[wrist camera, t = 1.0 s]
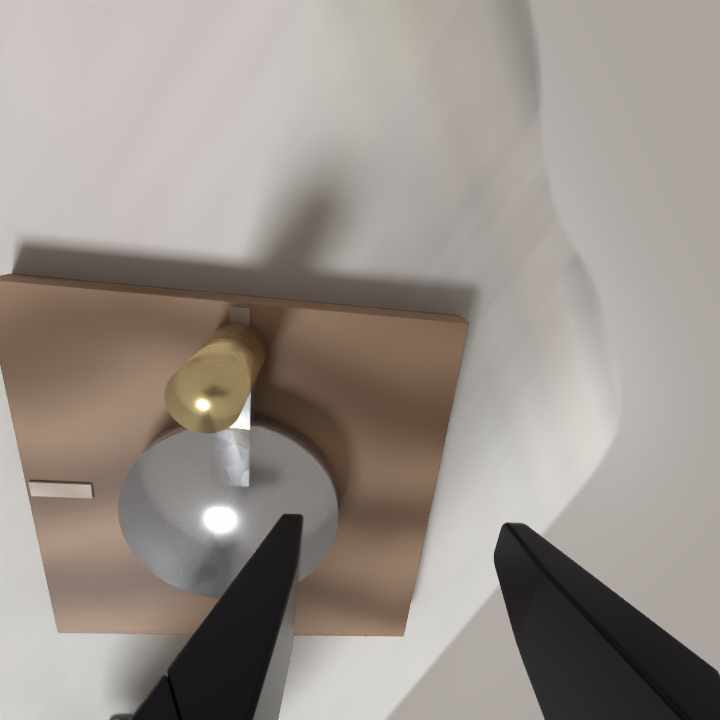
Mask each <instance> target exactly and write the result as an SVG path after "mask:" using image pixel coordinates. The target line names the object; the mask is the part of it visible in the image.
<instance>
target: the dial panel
mask: <svg viewBox="0 0 720 720" xmlns="http://www.w3.org/2000/svg"><path fill="white" fill-rule="evenodd" d="M234 322H239V323H244V324H248V325H250V326H252V327H254V328H255V329H256V330H257V331H259V332H260V334H261V335H262V336H263V338H264V340H265V342H266V346H267V356H266V359H265V361H264V364H263V366H262V368H261V370H260V372H259V375H258V377H257V379H256V399H255V413H257V414H261V415H265V416H268V417H271V418H274V419H277V420H279V421H282V422H284V423H286V424H288V425H290V426H292V427H293V428H295V429H296V430H298V431H299V432H301V433H302V434H304V435H305V436H306V437H307V438H309V439H310V440H311V441H312V442H313V443H314V444H315V445H316V446H317V447H318V448H319V449H320V451H321V452H322V453H323V455H324V456H325V458H326V459H327V461H328V462H329V464H330V466H331V469H332V471H333V473H334V477H335V480H336V484H337V492H338V527H337V532H336V537H335V539H334V542H333V545H332V547H331V549H330V551H329V552H328V554H327V556H326V557H325V559H324V560H323V561H322V563H321V564H320V565H319V566H318V567H317V568H316V569H315V570H314V571H313V572H312V573H311V574H309V575H308V576H307V577H305V578H304V579H303V580H301V581H300V582H298V593H297V605H296V616H295V628H294V635H323V636H404V632H405V627H406V622H407V618H408V613H409V608H410V603H411V599H412V594H413V589H414V584H415V580H416V575H417V570H418V565H419V560H420V556H421V551H422V546H423V541H424V537H425V532H426V527H427V522H428V518H429V513H430V508H431V503H432V499H433V494H434V489H435V484H436V479H437V475H438V470H439V465H440V460H441V456H442V451H443V446H444V441H445V437H446V432H447V427H448V422H449V418H450V413H451V408H452V403H453V398H454V394H455V389H456V384H457V379H458V375H459V370H460V365H461V360H462V356H463V351H464V346H465V341H466V337H467V332H468V327H469V323H467V322H466V321H465V320H464V319H462V318H461V317H460V316H456V315H446V314H435V313H424V312H414V311H403V310H392V309H381V308H371V307H360V306H349V305H339V304H328V303H317V302H307V301H296V300H285V299H275V298H264V297H253V296H243V295H232V294H221V293H211V292H200V291H189V290H179V289H168V288H157V287H147V286H136V285H125V284H115V283H104V282H93V281H82V280H72V279H61V278H50V277H40V276H29V275H18V274H7V275H2V276H0V365H1V370H2V375H3V379H4V384H5V389H6V393H7V398H8V403H9V407H10V412H11V417H12V421H13V426H14V431H15V435H16V440H17V445H18V449H19V454H20V459H21V463H22V468H23V473H24V477H25V482H26V487H27V491H28V496H29V501H30V505H31V510H32V514H33V519H34V524H35V528H36V533H37V538H38V542H39V547H40V552H41V556H42V561H43V566H44V570H45V575H46V580H47V584H48V589H49V594H50V598H51V603H52V608H53V612H54V617H55V622H56V626H57V631H58V633H114V634H194V633H195V631H196V630H197V629H198V627H199V626H200V625H201V623H202V622H203V621H204V619H205V618H206V617H207V615H208V614H209V612H210V611H211V610H212V608H213V607H214V606H215V604H216V603H217V602H218V600H219V599H218V598H211V597H205V596H201V595H197V594H193V593H190V592H187V591H185V590H182V589H179V588H177V587H175V586H173V585H171V584H169V583H167V582H165V581H164V580H162V579H161V578H159V577H157V576H156V575H155V574H153V573H152V572H151V571H150V570H148V569H147V568H146V567H145V566H144V565H143V564H142V563H141V562H140V561H139V560H138V559H137V557H136V556H135V555H134V554H133V552H132V551H131V550H130V548H129V546H128V544H127V543H126V541H125V539H124V536H123V534H122V531H121V528H120V523H119V519H118V500H119V493H120V490H121V487H122V484H123V482H124V480H125V478H126V476H127V474H128V472H129V471H130V469H131V468H132V467H133V465H134V464H135V463H136V461H137V460H138V459H139V458H140V456H141V455H142V454H143V453H144V451H145V450H146V449H147V448H148V446H149V445H150V444H151V442H153V441H154V440H155V439H156V438H157V437H158V436H159V435H160V434H161V433H162V432H164V431H165V430H167V429H168V428H169V427H171V426H173V425H175V424H177V423H178V422H177V421H176V420H174V418H173V417H172V416H171V415H170V413H169V411H168V409H167V407H166V404H165V399H164V392H165V388H166V385H167V383H168V381H169V379H170V378H171V377H172V376H173V374H174V373H175V372H176V371H177V370H178V369H179V368H180V367H181V366H182V365H183V364H184V363H185V362H186V361H187V360H188V359H189V358H190V357H191V356H192V355H193V354H194V353H195V352H196V351H197V350H198V349H199V348H200V347H201V346H202V345H203V344H204V343H205V342H206V341H207V340H208V339H209V338H210V337H211V336H212V335H213V334H214V333H215V332H216V331H217V330H218V329H219V328H220V327H222V326H223V325H226V324H228V323H234Z"/></svg>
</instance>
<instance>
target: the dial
mask: <svg viewBox="0 0 720 720" xmlns="http://www.w3.org/2000/svg"><path fill="white" fill-rule="evenodd" d="M266 356H267V346H266V342H265V340H264V338H263V336H262V335H261V334H260V332H259V331H257V330H256V329H255V328H254V327H252V326H250V325H248V324H244V323H239V322H234V323H228V324H226V325H223V326H222V327H220V328H219V329H218V330H217V331H216V332H215V333H214V334H213V335H212V336H211V337H210V338H209V339H208V340H207V341H206V342H205V343H204V344H203V345H202V346H201V347H200V348H199V349H198V350H197V351H196V352H195V353H194V354H193V355H192V356H191V357H190V358H189V359H188V360H187V361H186V362H185V363H184V364H183V365H182V366H181V367H180V368H179V369H178V370H177V371H176V372H175V373H174V374H173V376H172V377H171V378H170V379H169V381H168V383H167V385H166V388H165V392H164V399H165V404H166V407H167V409H168V411H169V413H170V415H171V416H172V417H173V418H174V420H176V421H177V422H178V423H177V424H175V425H173V426H171V427H169V428H168V429H167V430H165V431H164V432H162V433H161V434H160V435H159V436H158V437H157V438H156V439H155V440H154V441H153V442H151V444H150V445H149V446H148V448H147V449H146V450H145V451H144V453H143V454H142V455H141V456H140V458H139V459H138V460H137V461H136V463H135V464H134V465H133V467H132V468H131V469H130V471H129V472H128V474H127V476H126V478H125V480H124V482H123V484H122V487H121V490H120V493H119V500H118V519H119V523H120V528H121V531H122V534H123V536H124V539H125V541H126V543H127V544H128V546H129V548H130V550H131V551H132V552H133V554H134V555H135V556H136V557H137V559H138V560H139V561H140V562H141V563H142V564H143V565H144V566H145V567H146V568H147V569H148V570H150V571H151V572H152V573H153V574H155V575H156V576H157V577H159V578H161V579H162V580H164V581H165V582H167V583H169V584H171V585H173V586H175V587H177V588H179V589H182V590H185V591H187V592H190V593H193V594H197V595H201V596H205V597H211V598H218V599H220V598H221V596H222V595H223V594H224V592H225V591H226V590H227V588H228V587H229V586H230V584H231V583H232V581H233V580H234V579H235V577H236V576H237V575H238V573H239V572H240V571H241V569H242V568H243V567H244V565H245V564H246V563H247V561H248V560H249V559H250V557H251V556H252V554H253V553H254V552H255V550H256V549H257V548H258V546H259V545H260V544H261V542H262V541H263V540H264V538H265V537H266V536H267V534H268V533H269V532H270V530H271V529H272V528H273V526H274V525H275V523H276V522H277V521H278V519H279V518H280V517H281V516H282V515H283V514H301V515H303V517H304V520H303V533H302V547H301V559H300V570H299V582H300V581H301V580H303V579H304V578H305V577H307V576H308V575H309V574H311V573H312V572H313V571H314V570H315V569H316V568H317V567H318V566H319V565H320V564H321V563H322V561H323V560H324V559H325V557H326V556H327V554H328V552H329V551H330V549H331V547H332V545H333V542H334V539H335V537H336V532H337V527H338V492H337V484H336V480H335V477H334V473H333V471H332V469H331V466H330V464H329V462H328V461H327V459H326V458H325V456H324V455H323V453H322V452H321V451H320V449H319V448H318V447H317V446H316V445H315V444H314V443H313V442H312V441H311V440H310V439H309V438H307V437H306V436H305V435H304V434H302V433H301V432H299V431H298V430H296V429H295V428H293V427H292V426H290V425H288V424H286V423H284V422H282V421H279V420H277V419H274V418H271V417H268V416H265V415H261V414H257V413H255V399H256V379H257V377H258V375H259V372H260V370H261V368H262V366H263V364H264V361H265V359H266Z"/></svg>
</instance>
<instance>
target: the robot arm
mask: <svg viewBox="0 0 720 720" xmlns="http://www.w3.org/2000/svg"><path fill="white" fill-rule="evenodd" d="M303 520H304V517H303V515H301V514H283V515H282V516H281V517H280V518H279V519H278V521H277V522H276V523H275V525H274V526H273V528H272V529H271V530H270V532H269V533H268V534H267V536H266V537H265V538H264V540H263V541H262V542H261V544H260V545H259V546H258V548H257V549H256V550H255V552H254V553H253V554H252V556H251V557H250V559H249V560H248V561H247V563H246V564H245V565H244V567H243V568H242V569H241V571H240V572H239V573H238V575H237V576H236V577H235V579H234V580H233V581H232V583H231V584H230V586H229V587H228V588H227V590H226V591H225V592H224V594H223V595H222V596H221V598H220V599H219V600H218V602H217V603H216V604H215V606H214V607H213V608H212V610H211V611H210V612H209V614H208V615H207V617H206V618H205V619H204V621H203V622H202V623H201V625H200V626H199V627H198V629H197V630H196V631H195V633H194V634H193V635H192V637H191V638H190V639H189V641H188V642H187V644H186V645H185V646H184V648H183V649H182V650H181V652H180V653H179V654H178V656H177V657H176V658H175V660H174V661H173V662H172V664H171V665H170V666H169V668H168V669H167V671H166V675H164V676H162V677H161V678H160V680H159V681H158V682H157V684H156V685H155V686H154V688H153V689H152V690H151V692H150V693H149V694H148V696H147V697H146V698H145V700H144V701H143V703H142V704H141V705H140V706H139V708H138V709H137V710H136V712H135V713H134V714H133V715H132V717H131V718H130V719H129V720H278V717H279V712H280V707H281V702H282V697H283V692H284V687H285V682H286V676H287V671H288V666H289V661H290V656H291V650H292V644H293V636H294V628H295V616H296V605H297V593H298V582H299V570H300V559H301V547H302V533H303ZM494 564H495V568H496V572H497V575H498V579H499V583H500V586H501V590H502V593H503V597H504V601H505V604H506V608H507V612H508V615H509V619H510V623H511V626H512V630H513V633H514V637H515V640H516V643H517V646H518V649H519V652H520V655H521V657H522V660H523V663H524V665H525V668H526V671H527V674H528V676H529V679H530V681H531V684H532V687H533V689H534V692H535V695H536V697H537V700H538V703H539V705H540V708H541V710H542V713H543V716H544V719H545V720H720V675H719V673H718V671H717V670H716V669H715V668H713V667H712V666H710V665H709V664H708V663H707V662H705V661H704V660H703V659H701V658H700V657H699V656H697V655H696V654H695V653H693V652H692V651H691V650H690V649H688V648H687V647H686V646H684V645H683V644H682V643H680V642H679V641H678V640H676V639H675V638H674V637H672V636H671V635H670V634H668V633H667V632H666V631H665V630H663V629H662V628H661V627H659V626H658V625H657V624H655V623H654V622H652V621H651V620H650V619H649V618H648V617H646V616H645V615H644V614H642V613H641V612H640V611H638V610H637V609H636V608H634V607H633V606H632V605H631V604H629V603H628V602H627V601H625V600H624V599H623V598H621V597H620V596H619V595H617V594H616V593H615V592H613V591H612V590H611V589H610V588H608V587H607V586H606V585H604V584H603V583H602V582H600V581H599V580H598V579H596V578H595V577H594V576H593V575H591V574H590V573H588V572H587V571H586V570H585V569H583V568H582V567H581V566H579V565H578V564H577V563H576V562H574V561H573V560H572V559H570V558H569V557H568V556H566V555H565V554H563V553H562V552H561V551H560V550H559V549H557V548H556V547H555V546H553V545H552V544H551V543H549V542H548V541H547V540H545V539H544V538H543V537H541V536H540V535H539V534H538V533H536V532H535V531H534V530H532V529H531V528H530V527H528V526H527V525H525V524H523V523H505V524H503V526H502V528H501V531H500V534H499V538H498V541H497V545H496V548H495V552H494Z"/></svg>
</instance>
